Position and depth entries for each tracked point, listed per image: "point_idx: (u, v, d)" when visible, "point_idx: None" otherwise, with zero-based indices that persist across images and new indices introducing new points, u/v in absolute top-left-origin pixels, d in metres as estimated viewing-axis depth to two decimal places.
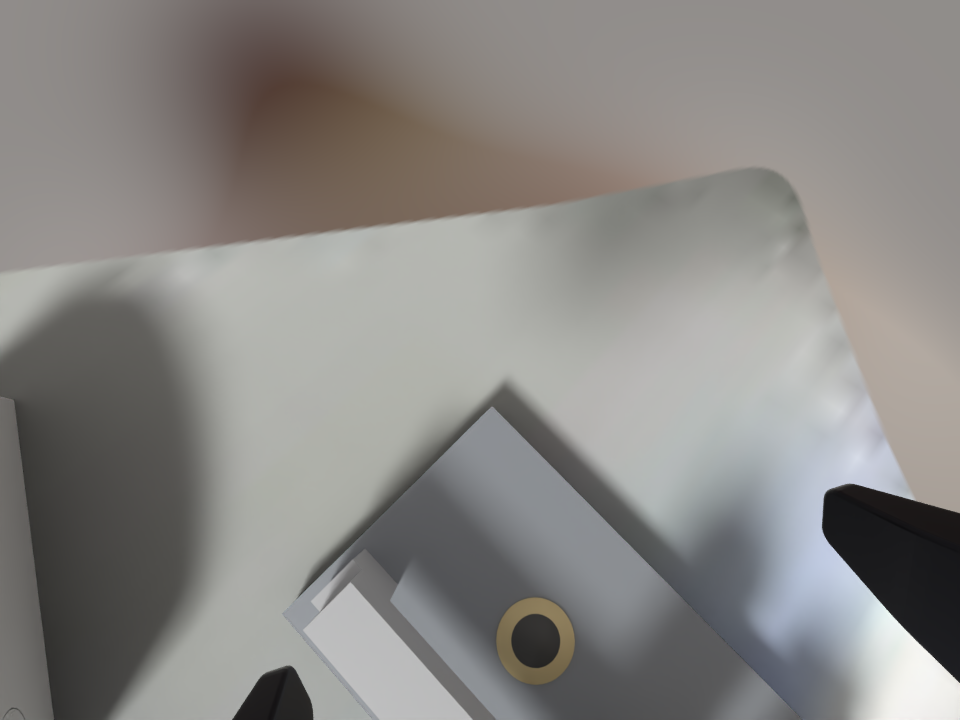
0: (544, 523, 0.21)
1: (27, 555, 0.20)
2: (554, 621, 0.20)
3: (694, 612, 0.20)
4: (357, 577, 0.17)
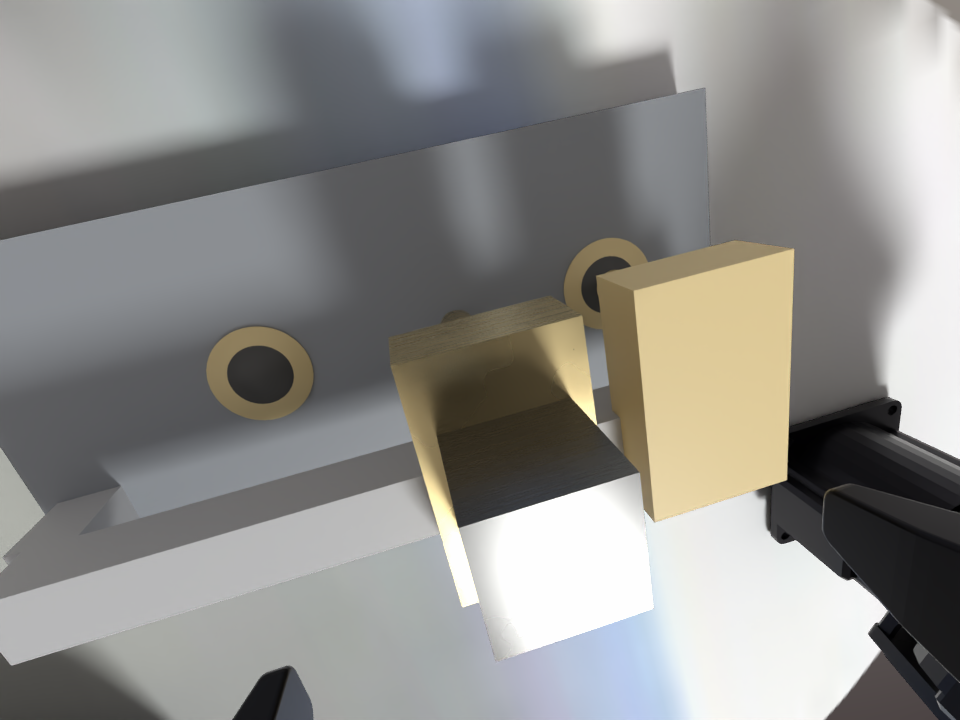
0: (117, 290, 0.14)
1: None
2: (250, 343, 0.15)
3: (334, 170, 0.14)
4: None
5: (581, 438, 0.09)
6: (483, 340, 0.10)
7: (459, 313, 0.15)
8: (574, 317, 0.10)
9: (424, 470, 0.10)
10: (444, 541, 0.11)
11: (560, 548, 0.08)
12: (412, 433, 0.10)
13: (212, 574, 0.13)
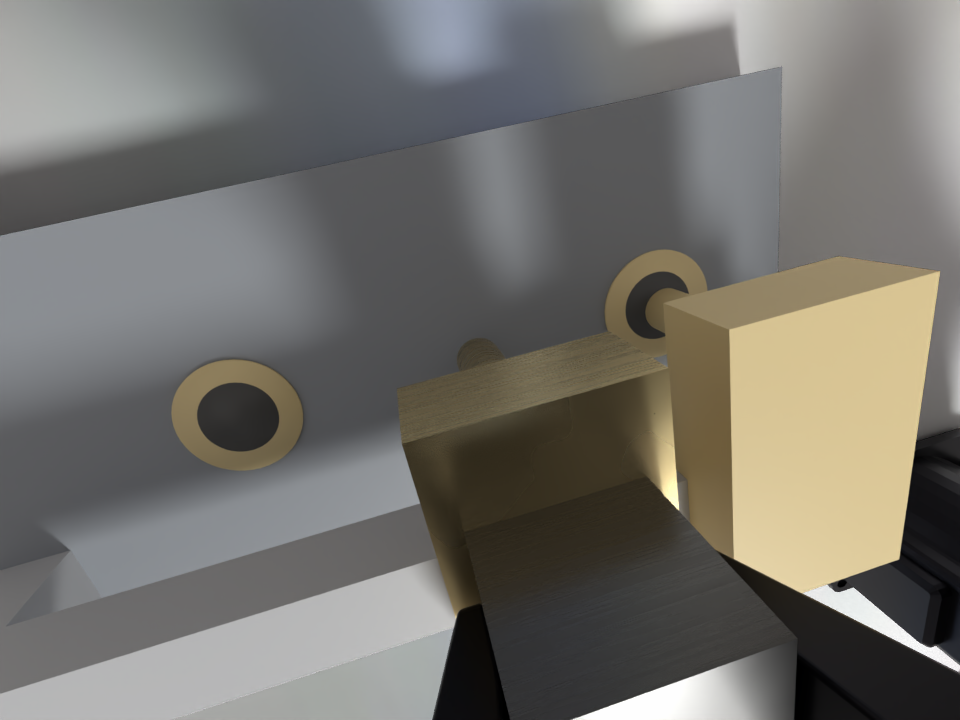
0: (57, 317, 0.11)
1: None
2: (225, 380, 0.12)
3: (327, 167, 0.11)
4: None
5: (680, 556, 0.06)
6: (533, 404, 0.07)
7: (481, 343, 0.13)
8: (658, 371, 0.07)
9: (447, 577, 0.08)
10: None
11: None
12: (431, 530, 0.07)
13: (169, 685, 0.10)
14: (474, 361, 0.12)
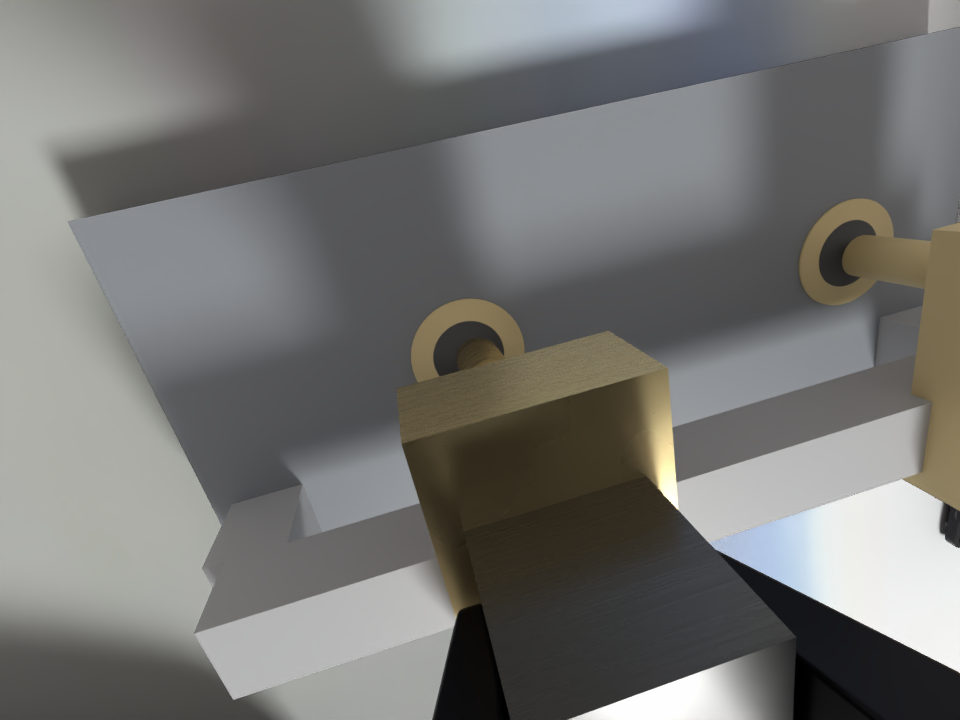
0: (326, 254, 0.12)
1: None
2: (462, 318, 0.13)
3: (579, 112, 0.12)
4: (211, 596, 0.10)
5: (680, 555, 0.06)
6: (532, 404, 0.07)
7: (481, 342, 0.13)
8: (657, 370, 0.07)
9: (447, 577, 0.08)
10: None
11: None
12: (431, 530, 0.07)
13: None
14: (473, 361, 0.12)
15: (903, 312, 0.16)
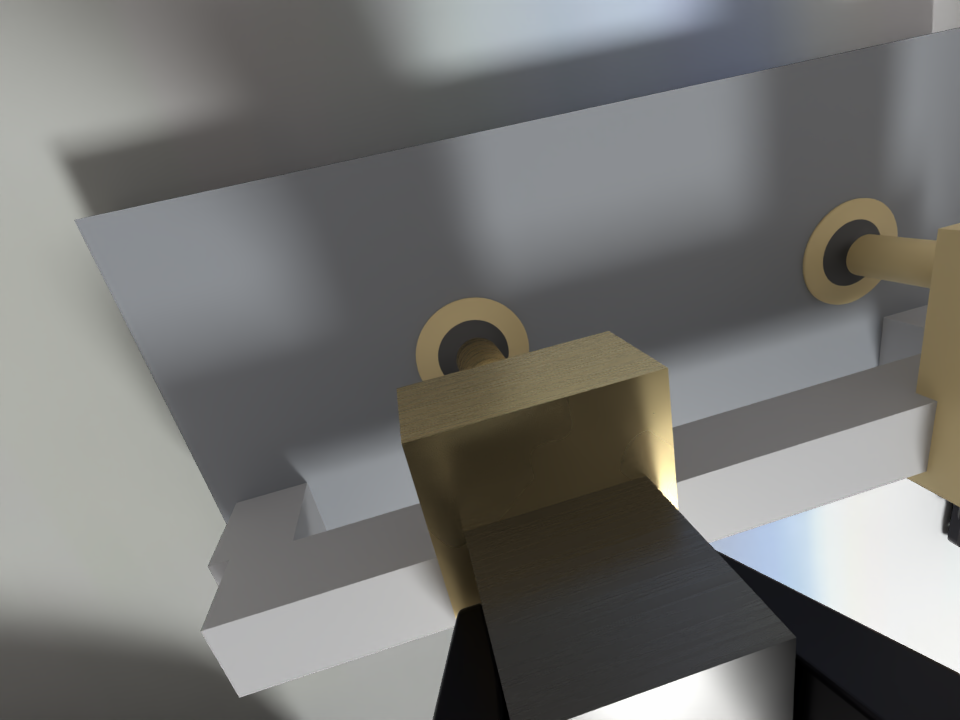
0: (332, 252, 0.12)
1: None
2: (467, 317, 0.13)
3: (584, 111, 0.12)
4: (218, 594, 0.10)
5: (679, 555, 0.06)
6: (532, 403, 0.07)
7: (481, 343, 0.13)
8: (657, 370, 0.07)
9: (446, 577, 0.08)
10: None
11: None
12: (430, 530, 0.07)
13: None
14: (473, 361, 0.12)
15: (907, 312, 0.16)
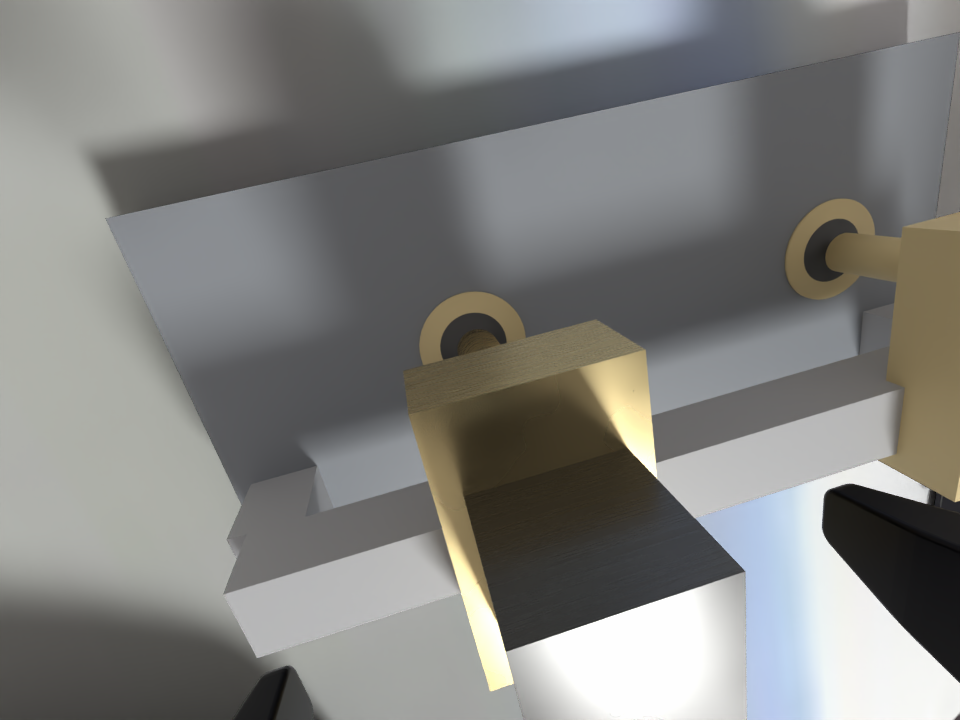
0: (342, 249, 0.13)
1: None
2: (467, 310, 0.14)
3: (577, 118, 0.13)
4: (237, 563, 0.11)
5: (651, 511, 0.07)
6: (524, 381, 0.08)
7: (480, 333, 0.13)
8: (635, 352, 0.08)
9: (448, 538, 0.08)
10: (470, 618, 0.09)
11: (636, 669, 0.06)
12: (434, 494, 0.08)
13: None
14: (473, 349, 0.13)
15: (885, 306, 0.17)
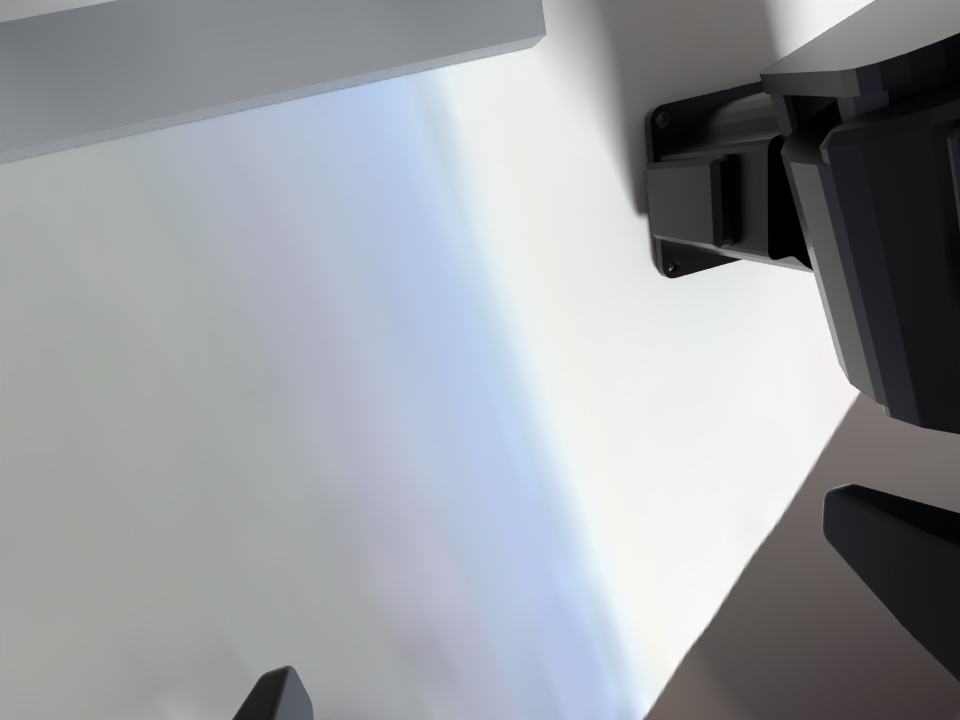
0: None
1: None
2: None
3: None
4: None
5: None
6: None
7: None
8: None
9: None
10: None
11: None
12: None
13: None
14: None
15: None
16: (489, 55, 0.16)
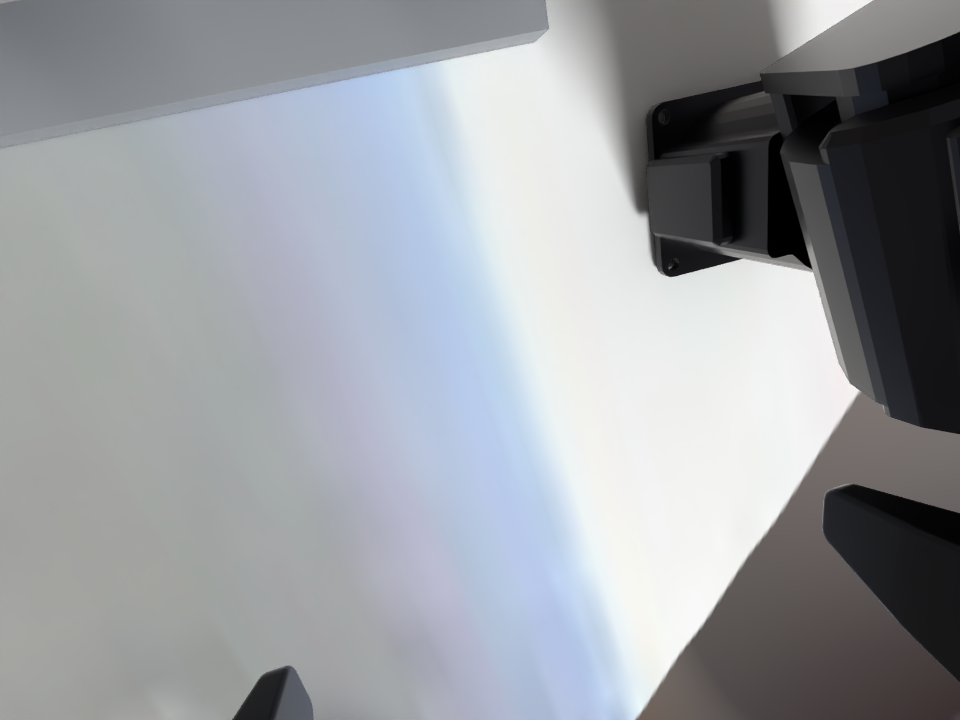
0: None
1: None
2: None
3: None
4: None
5: None
6: None
7: None
8: None
9: None
10: None
11: None
12: None
13: None
14: None
15: None
16: (491, 49, 0.16)
